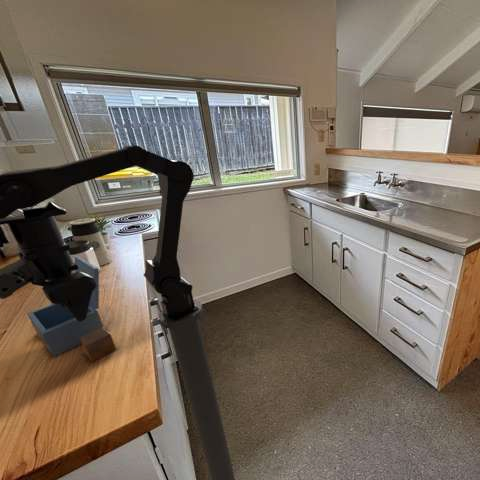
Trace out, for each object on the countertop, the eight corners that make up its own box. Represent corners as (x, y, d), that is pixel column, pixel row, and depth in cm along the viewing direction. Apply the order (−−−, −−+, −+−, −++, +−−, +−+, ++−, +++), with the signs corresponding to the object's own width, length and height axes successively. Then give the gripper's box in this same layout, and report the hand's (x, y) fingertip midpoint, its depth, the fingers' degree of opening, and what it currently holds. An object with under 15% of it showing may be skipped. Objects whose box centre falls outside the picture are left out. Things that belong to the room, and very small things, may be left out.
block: (108, 341, 61) (102, 326, 60) (116, 349, 59) (110, 333, 57) (85, 353, 58) (78, 338, 56) (92, 362, 56) (85, 346, 54)
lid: (94, 268, 61) (98, 268, 61) (74, 256, 68) (78, 256, 68) (94, 309, 62) (98, 308, 63) (75, 293, 69) (79, 292, 70)
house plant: (103, 254, 111) (91, 218, 105) (72, 254, 112) (58, 218, 106) (127, 242, 125) (117, 209, 119) (100, 242, 125) (88, 210, 119)
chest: (53, 356, 57) (42, 334, 55) (37, 334, 64) (26, 313, 62) (105, 331, 65) (97, 310, 62) (85, 313, 72) (77, 294, 69)
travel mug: (85, 263, 103) (69, 220, 97) (110, 258, 108) (96, 216, 101) (84, 270, 97) (66, 225, 91) (110, 264, 102) (95, 221, 95)
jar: (69, 282, 88) (55, 251, 84) (68, 275, 94) (56, 244, 90) (102, 274, 94) (91, 243, 90) (99, 267, 100) (89, 238, 95)
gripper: (-37, 247, 45) (5, 319, 51) (-19, 273, 36) (30, 358, 41) (49, 229, 54) (77, 293, 60) (81, 246, 45) (110, 319, 50)
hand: (73, 312), depth 53 cm, fingers open, 9 cm apart
